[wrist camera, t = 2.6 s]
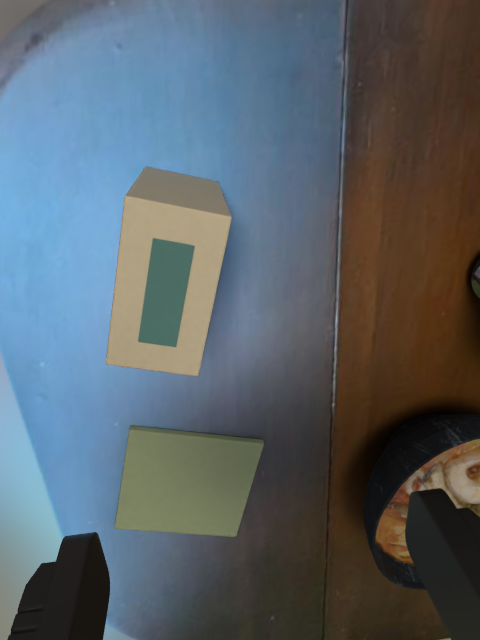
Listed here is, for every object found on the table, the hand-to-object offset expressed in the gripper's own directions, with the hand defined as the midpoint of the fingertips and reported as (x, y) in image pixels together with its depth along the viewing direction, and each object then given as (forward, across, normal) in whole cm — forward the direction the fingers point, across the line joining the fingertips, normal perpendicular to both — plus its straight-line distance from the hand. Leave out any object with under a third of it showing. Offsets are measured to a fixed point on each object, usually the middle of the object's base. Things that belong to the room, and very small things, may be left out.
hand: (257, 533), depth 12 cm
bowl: (+24, -19, +21) cm, 38 cm away
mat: (+24, +4, +22) cm, 33 cm away
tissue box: (+24, +3, -2) cm, 24 cm away
